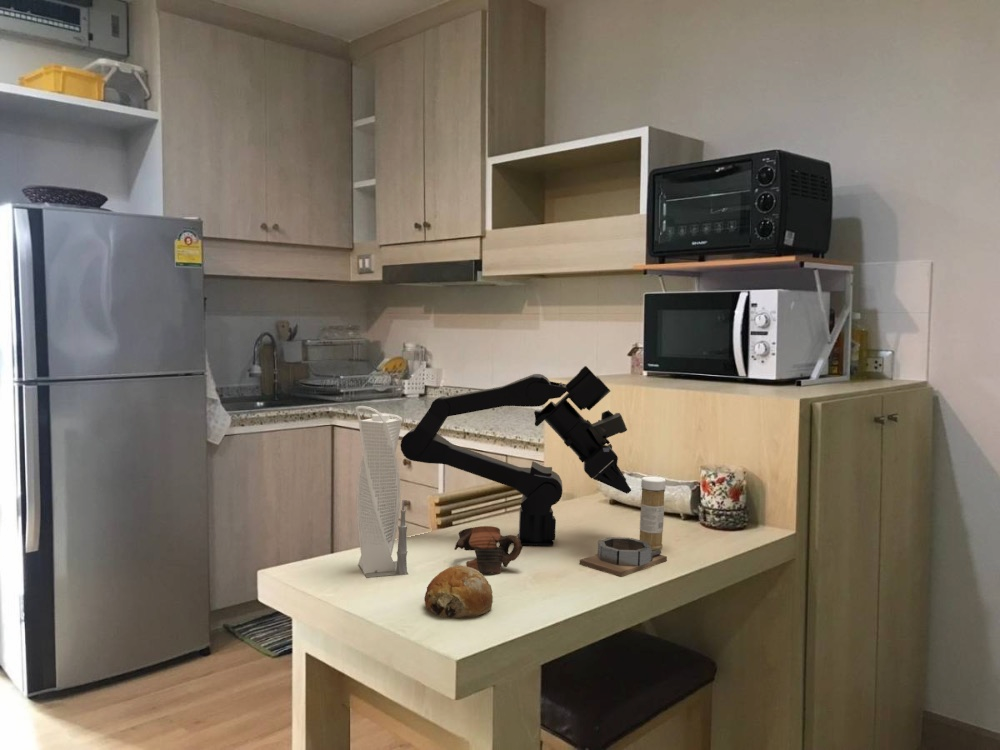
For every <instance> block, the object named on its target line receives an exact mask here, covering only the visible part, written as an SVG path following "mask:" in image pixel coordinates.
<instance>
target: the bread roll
mask: <svg viewBox="0 0 1000 750" xmlns="http://www.w3.org/2000/svg"><path fill="white" fill-rule="evenodd" d="M492 589H493V588H492V586H491V584H490V583H489V581H488V579H487V578H486V577H485V576H484V575H483V573H480V572H479V571H477V570H476V569H473V568H471V567H467V566H466V565H460V564H459V565H453V566H449V567H447V568H445V569H444V570H442V571H440V572H439V573H438V574H437V575H436V576H434V578H432V579H431V581H430V582H429V584H428V585H427V587H426V591H425V594H424V597H423V598H424V599H423V601H424V604H425V607H426V608H427V609H428V612H431V613H432V614H434V615H436V616H439V617H440V618H441V617H442V618H447V619H448V618H449V619H465V618H466V619H467V618H469V619H470V618H472V619H473V618H476V617H478V616H481V615H484V614H486V613H488V612H489V611H490V610H491V609H492V608H493V602H494V600H493V599H494V597H493V590H492Z"/></svg>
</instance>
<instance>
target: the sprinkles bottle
mask: <svg viewBox="0 0 1000 750" xmlns="http://www.w3.org/2000/svg"><path fill="white" fill-rule="evenodd" d="M640 483H641V484H640V485H641V486H640V487H641V500H640V501H641V503H640V515H639V516H640V517H639V518H640V519H639V540H641V541H645V542H648V543H649V545H650V546H651V551H654V550H657V549H660V550H661V549H662V548H663V532H664V519H665V518H664V517H665V515H664V514H665V492H666V488H667V486H666V483H667V481H666V478H664V477H660V476H643V477H642V478H641V481H640Z"/></svg>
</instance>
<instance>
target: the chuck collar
mask: <svg viewBox="0 0 1000 750" xmlns="http://www.w3.org/2000/svg"><path fill="white" fill-rule="evenodd" d="M597 554H598V557H599V559H600V560H601V561H604V562H607V563H611V564H614V565H619V566H641V565H644V564H646V563H649V562H651V561H652V560H653V557H654V556H657V555H662V550H661V549H657V550H651V546H650V545H649V543H648V542H645V541H641V540H640V539H638V538H633V537H625V536H624V537H619V536H617V537H616V536H611V537H610V536H609V537H606V538H602V539H599V540H598V541H597Z"/></svg>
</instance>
